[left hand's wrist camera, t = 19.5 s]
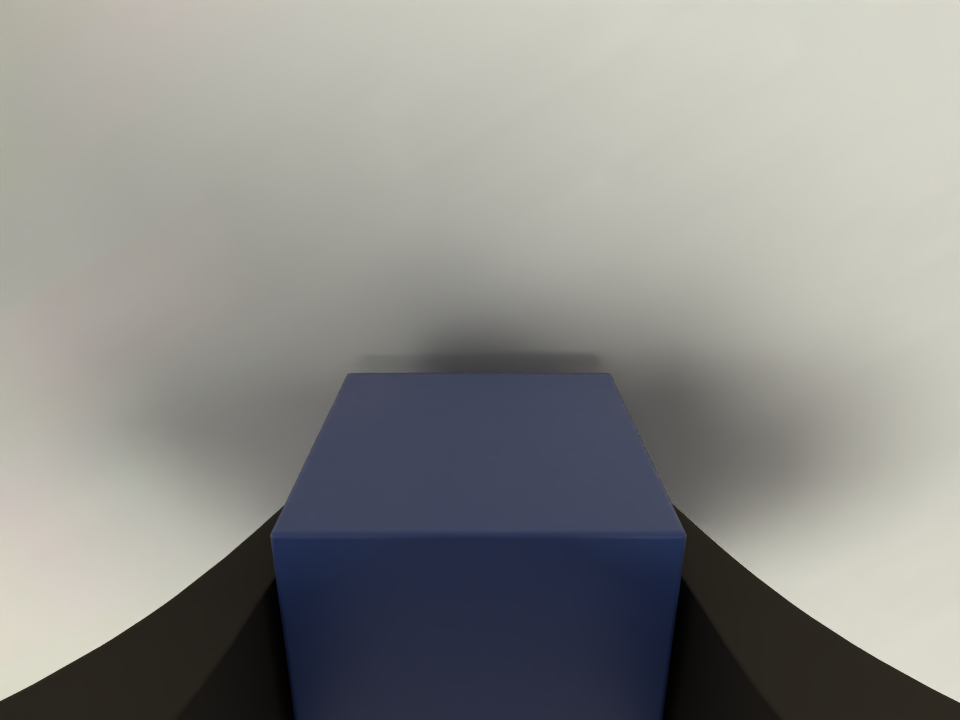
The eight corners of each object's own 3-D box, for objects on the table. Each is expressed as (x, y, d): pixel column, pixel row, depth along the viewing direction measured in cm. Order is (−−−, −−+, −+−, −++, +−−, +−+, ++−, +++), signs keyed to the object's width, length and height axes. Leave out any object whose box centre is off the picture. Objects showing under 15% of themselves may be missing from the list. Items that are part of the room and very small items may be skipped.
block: (594, 594, 13) (649, 834, 9) (364, 594, 13) (307, 834, 9) (611, 371, 12) (688, 533, 7) (347, 371, 12) (268, 534, 7)
